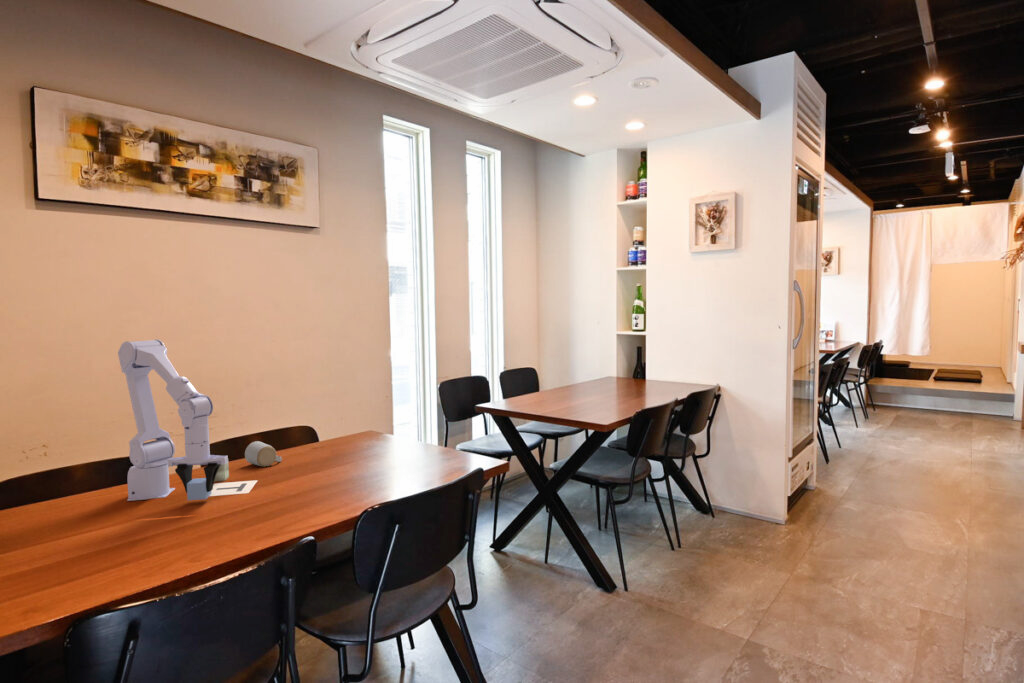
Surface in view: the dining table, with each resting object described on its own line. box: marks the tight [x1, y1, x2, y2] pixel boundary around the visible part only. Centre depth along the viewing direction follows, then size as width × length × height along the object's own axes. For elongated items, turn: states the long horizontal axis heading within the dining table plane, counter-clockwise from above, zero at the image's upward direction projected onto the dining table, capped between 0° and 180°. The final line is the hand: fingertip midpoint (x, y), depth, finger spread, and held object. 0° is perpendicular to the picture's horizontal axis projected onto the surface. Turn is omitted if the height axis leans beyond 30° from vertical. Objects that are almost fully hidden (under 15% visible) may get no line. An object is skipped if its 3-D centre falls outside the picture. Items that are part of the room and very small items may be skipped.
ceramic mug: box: [244, 440, 283, 468], centre depth 189 cm, size 11×8×8 cm
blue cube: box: [186, 477, 212, 501], centre depth 151 cm, size 4×4×4 cm
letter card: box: [209, 479, 259, 497], centre depth 163 cm, size 12×12×1 cm
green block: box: [214, 462, 230, 483], centre depth 171 cm, size 4×4×6 cm
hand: (199, 491), depth 151 cm, fingers closed on blue cube, 5 cm apart
